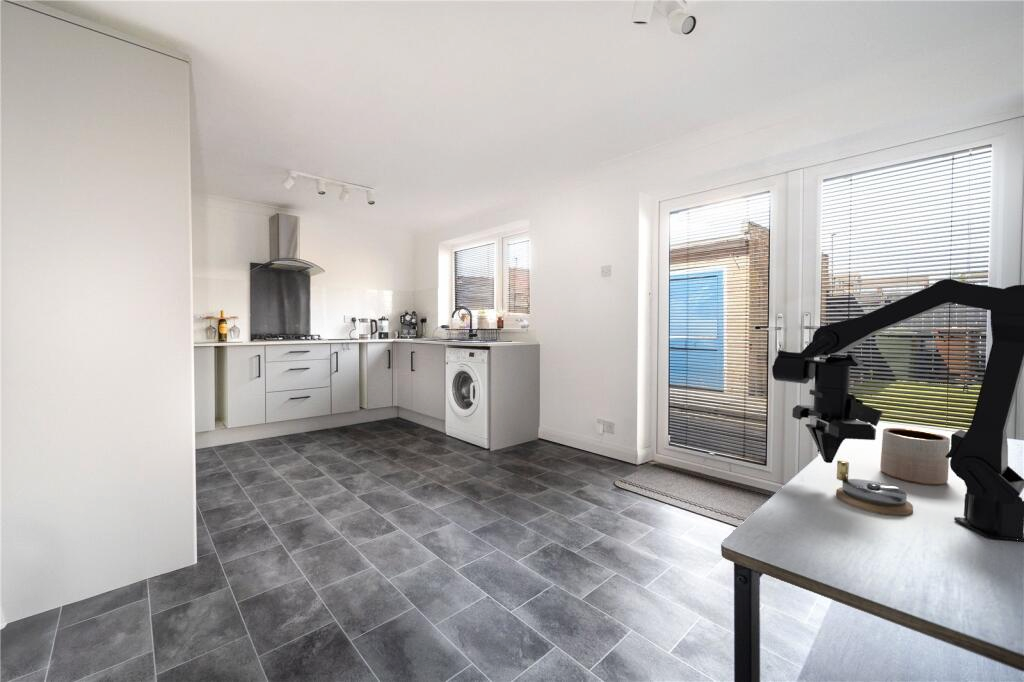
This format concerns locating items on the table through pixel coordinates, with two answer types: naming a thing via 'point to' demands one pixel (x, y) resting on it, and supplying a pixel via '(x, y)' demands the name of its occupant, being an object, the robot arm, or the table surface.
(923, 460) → the planter
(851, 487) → the dial
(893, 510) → the stand
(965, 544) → the table surface
